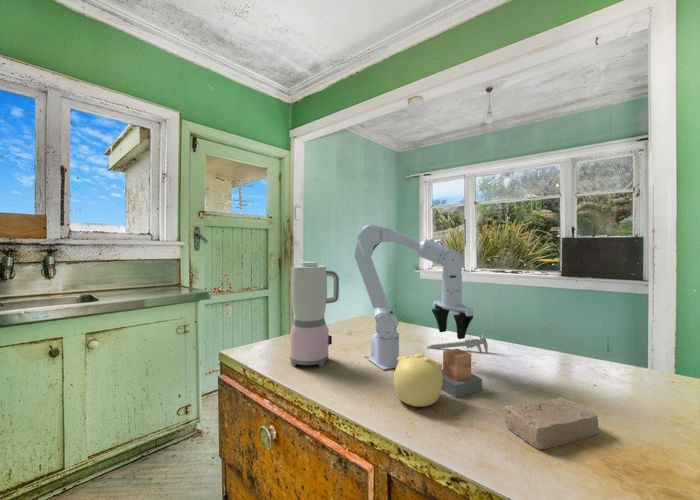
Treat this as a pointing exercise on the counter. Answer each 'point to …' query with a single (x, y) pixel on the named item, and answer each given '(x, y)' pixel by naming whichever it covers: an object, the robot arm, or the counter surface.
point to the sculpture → (418, 380)
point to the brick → (551, 422)
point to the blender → (310, 313)
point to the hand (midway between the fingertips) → (451, 335)
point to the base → (461, 385)
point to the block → (457, 364)
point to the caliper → (463, 344)
